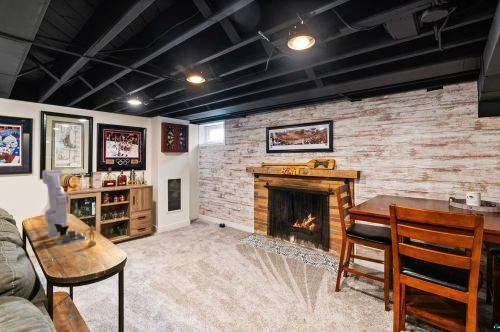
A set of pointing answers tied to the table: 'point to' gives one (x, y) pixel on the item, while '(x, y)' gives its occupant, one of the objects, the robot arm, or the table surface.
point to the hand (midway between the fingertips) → (61, 235)
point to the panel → (71, 239)
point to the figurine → (92, 242)
